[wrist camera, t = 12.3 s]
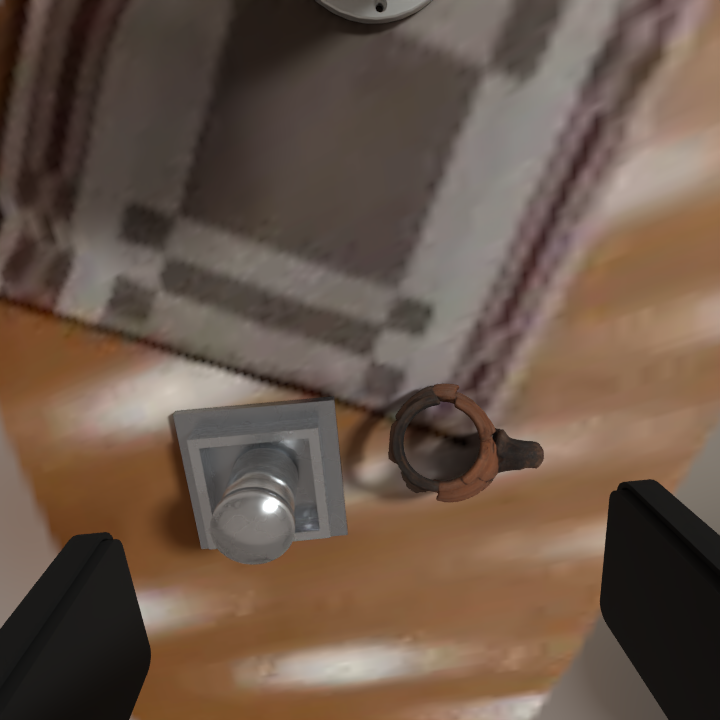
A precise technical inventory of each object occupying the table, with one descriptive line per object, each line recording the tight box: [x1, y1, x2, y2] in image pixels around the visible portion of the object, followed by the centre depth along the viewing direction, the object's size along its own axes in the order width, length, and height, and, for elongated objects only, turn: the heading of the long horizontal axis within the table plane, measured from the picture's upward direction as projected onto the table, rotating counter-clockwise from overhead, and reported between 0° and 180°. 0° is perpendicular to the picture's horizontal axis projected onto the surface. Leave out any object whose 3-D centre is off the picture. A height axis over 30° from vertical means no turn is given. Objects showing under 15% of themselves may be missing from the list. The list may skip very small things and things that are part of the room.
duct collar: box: [173, 397, 348, 550], centre depth 41 cm, size 13×13×3 cm
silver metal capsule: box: [210, 448, 298, 564], centre depth 38 cm, size 6×6×7 cm
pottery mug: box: [388, 384, 544, 502], centre depth 40 cm, size 12×10×8 cm
